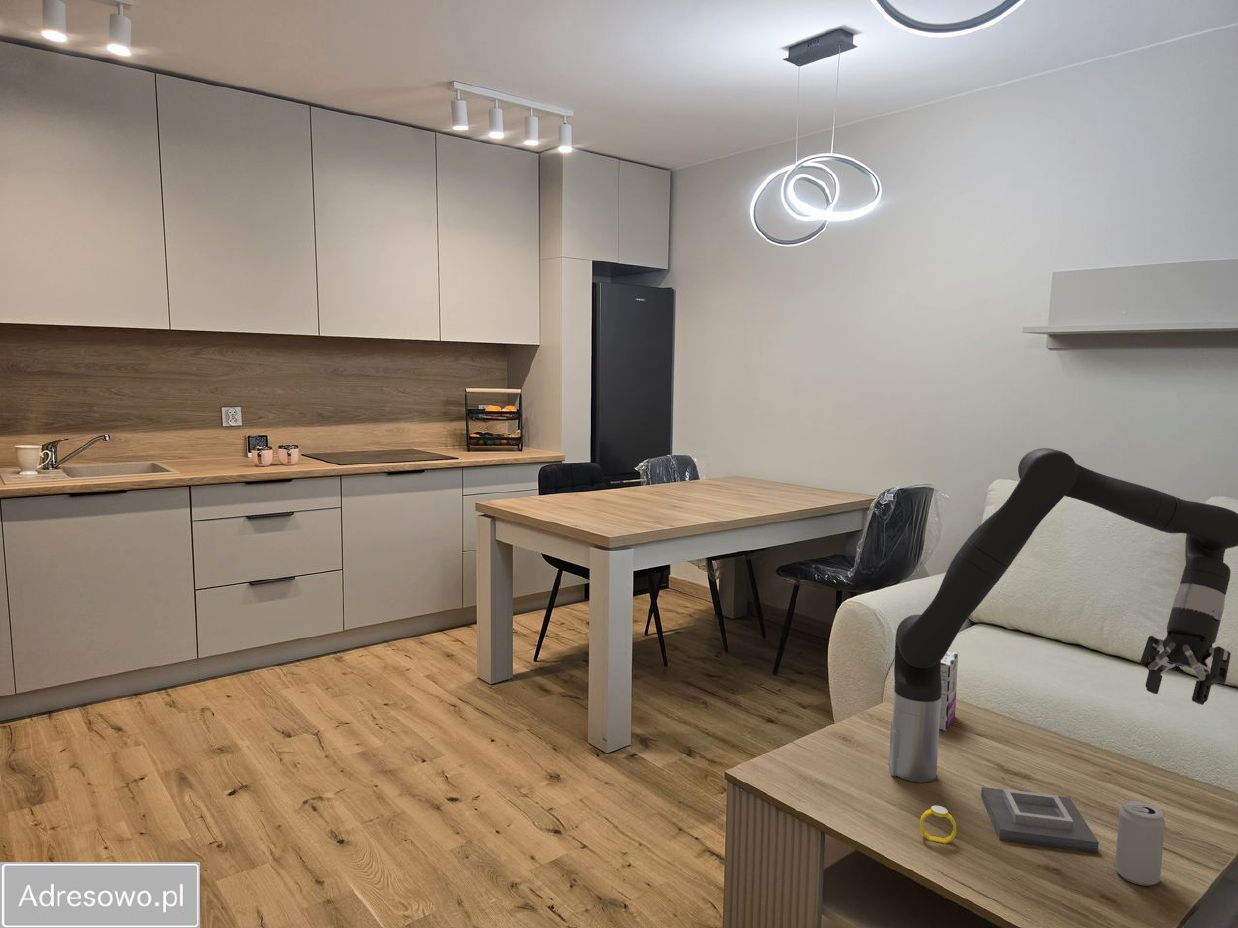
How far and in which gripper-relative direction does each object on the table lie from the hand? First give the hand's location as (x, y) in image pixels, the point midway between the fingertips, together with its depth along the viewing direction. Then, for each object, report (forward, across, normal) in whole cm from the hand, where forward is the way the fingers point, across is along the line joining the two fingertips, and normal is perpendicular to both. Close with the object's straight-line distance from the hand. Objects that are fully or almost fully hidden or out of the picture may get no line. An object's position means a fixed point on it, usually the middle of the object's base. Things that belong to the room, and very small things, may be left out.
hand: (1174, 697), depth 146 cm
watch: (+40, -14, -28) cm, 50 cm away
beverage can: (+32, +4, -4) cm, 32 cm away
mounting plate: (+30, -13, -8) cm, 34 cm away
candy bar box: (+18, -56, +3) cm, 59 cm away
